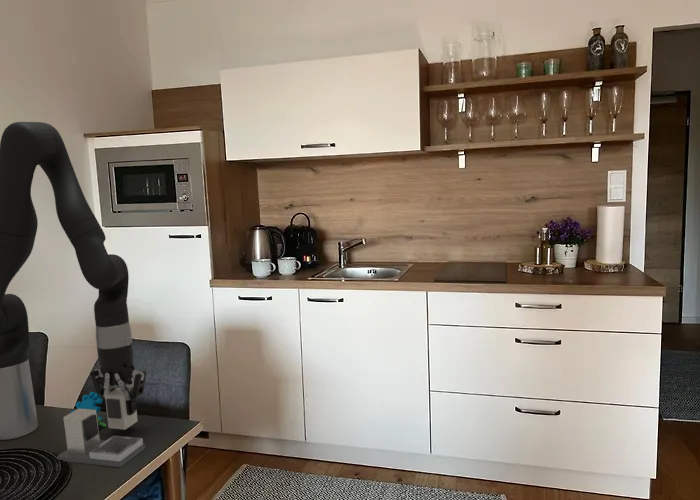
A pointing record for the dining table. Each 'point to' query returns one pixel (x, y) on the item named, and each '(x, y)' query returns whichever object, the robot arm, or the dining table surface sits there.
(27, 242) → the robot arm
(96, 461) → the base with upright block
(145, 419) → the dining table surface
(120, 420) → the block
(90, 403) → the blue spiky virus toy
